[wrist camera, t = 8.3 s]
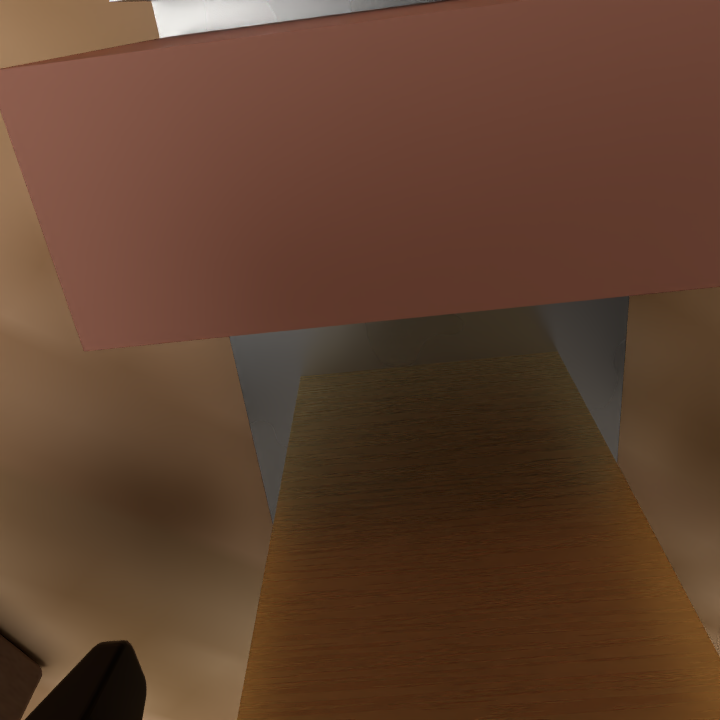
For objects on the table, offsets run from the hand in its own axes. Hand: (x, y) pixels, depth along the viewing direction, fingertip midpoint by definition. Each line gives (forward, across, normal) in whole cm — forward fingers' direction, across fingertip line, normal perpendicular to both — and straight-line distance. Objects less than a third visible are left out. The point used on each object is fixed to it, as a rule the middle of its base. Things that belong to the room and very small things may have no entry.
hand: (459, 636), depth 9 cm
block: (+3, 0, 0) cm, 3 cm away
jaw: (+3, 0, -6) cm, 7 cm away
